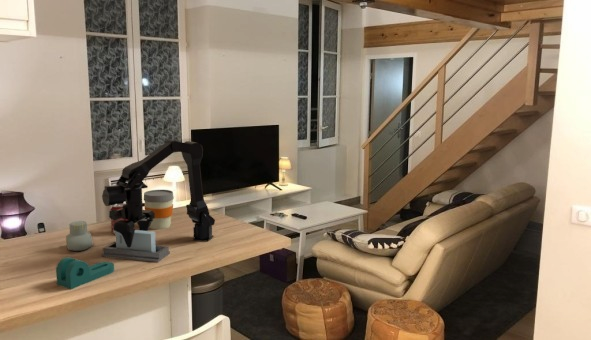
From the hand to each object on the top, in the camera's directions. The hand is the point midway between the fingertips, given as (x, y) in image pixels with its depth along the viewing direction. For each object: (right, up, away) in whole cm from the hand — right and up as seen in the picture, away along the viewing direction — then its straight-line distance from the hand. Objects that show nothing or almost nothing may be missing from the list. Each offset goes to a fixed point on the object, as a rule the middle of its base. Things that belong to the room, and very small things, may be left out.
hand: (135, 243), depth 178 cm
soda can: (-15, 0, +26) cm, 30 cm away
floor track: (0, -4, +1) cm, 4 cm away
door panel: (0, -3, +1) cm, 4 cm away
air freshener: (-23, -3, +7) cm, 24 cm away
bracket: (-9, -8, -19) cm, 23 cm away
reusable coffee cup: (-1, +2, +36) cm, 36 cm away
